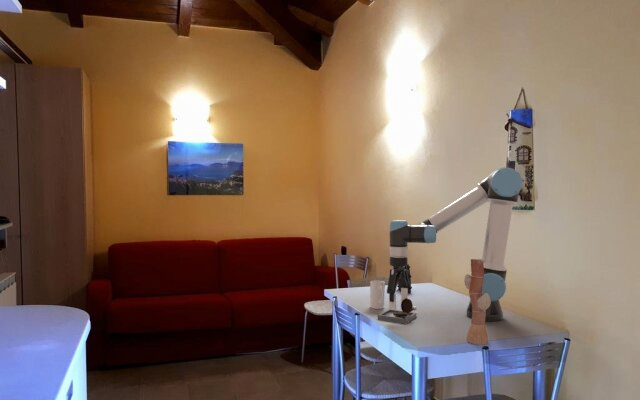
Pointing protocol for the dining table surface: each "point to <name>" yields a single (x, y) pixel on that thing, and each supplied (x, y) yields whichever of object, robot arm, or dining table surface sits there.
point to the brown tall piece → (477, 303)
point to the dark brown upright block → (409, 280)
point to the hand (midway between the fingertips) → (398, 306)
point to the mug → (377, 294)
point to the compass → (405, 308)
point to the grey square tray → (401, 319)
